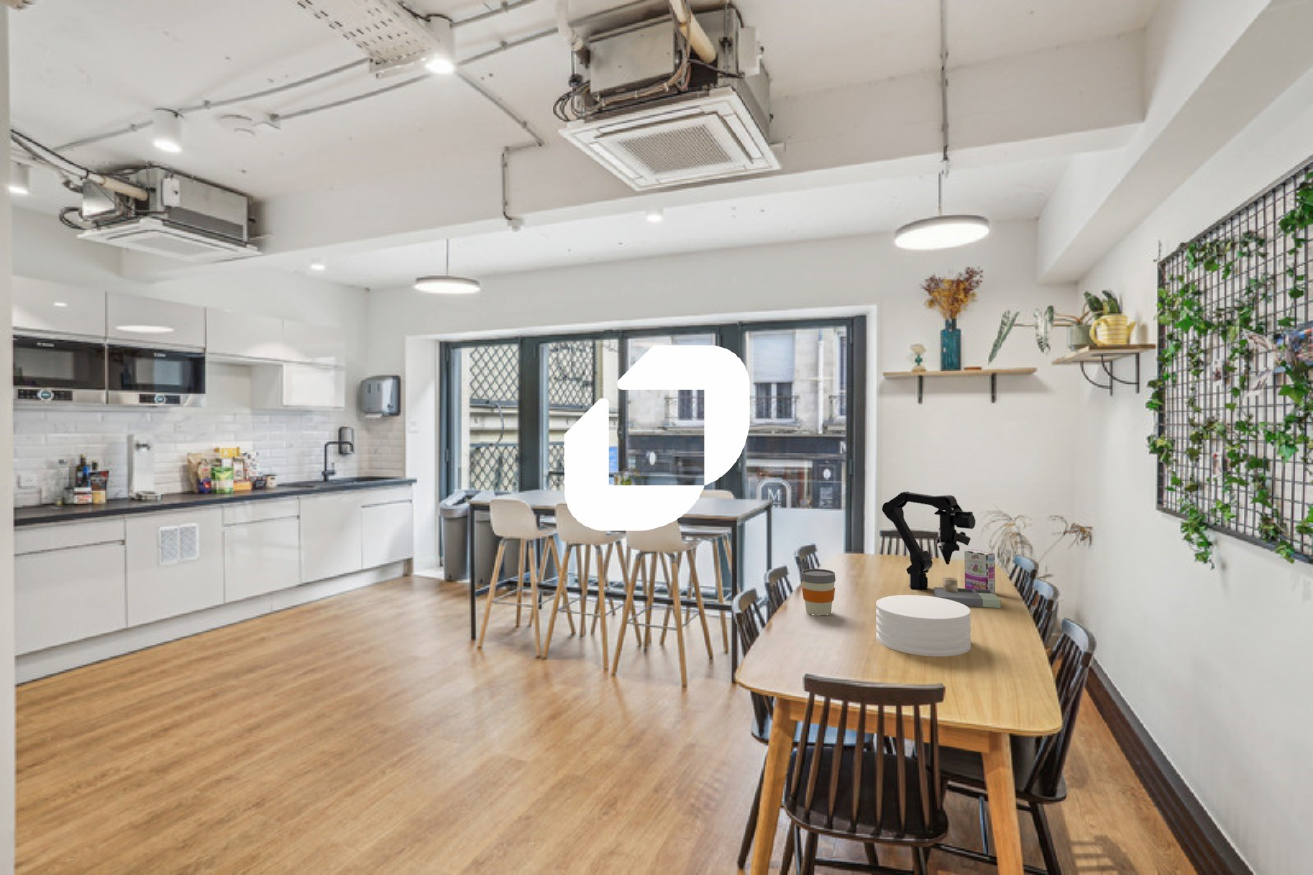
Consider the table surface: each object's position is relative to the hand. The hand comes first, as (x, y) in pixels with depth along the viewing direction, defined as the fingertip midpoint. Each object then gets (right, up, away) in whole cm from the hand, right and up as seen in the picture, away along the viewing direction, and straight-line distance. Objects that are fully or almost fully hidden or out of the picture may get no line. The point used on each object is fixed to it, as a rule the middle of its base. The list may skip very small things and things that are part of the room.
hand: (947, 564), depth 269 cm
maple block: (-2, -9, -6) cm, 11 cm away
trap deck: (+2, -12, -11) cm, 17 cm away
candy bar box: (+15, -12, +4) cm, 20 cm away
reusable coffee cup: (-59, -13, -25) cm, 65 cm away
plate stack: (-34, -14, -58) cm, 69 cm away
